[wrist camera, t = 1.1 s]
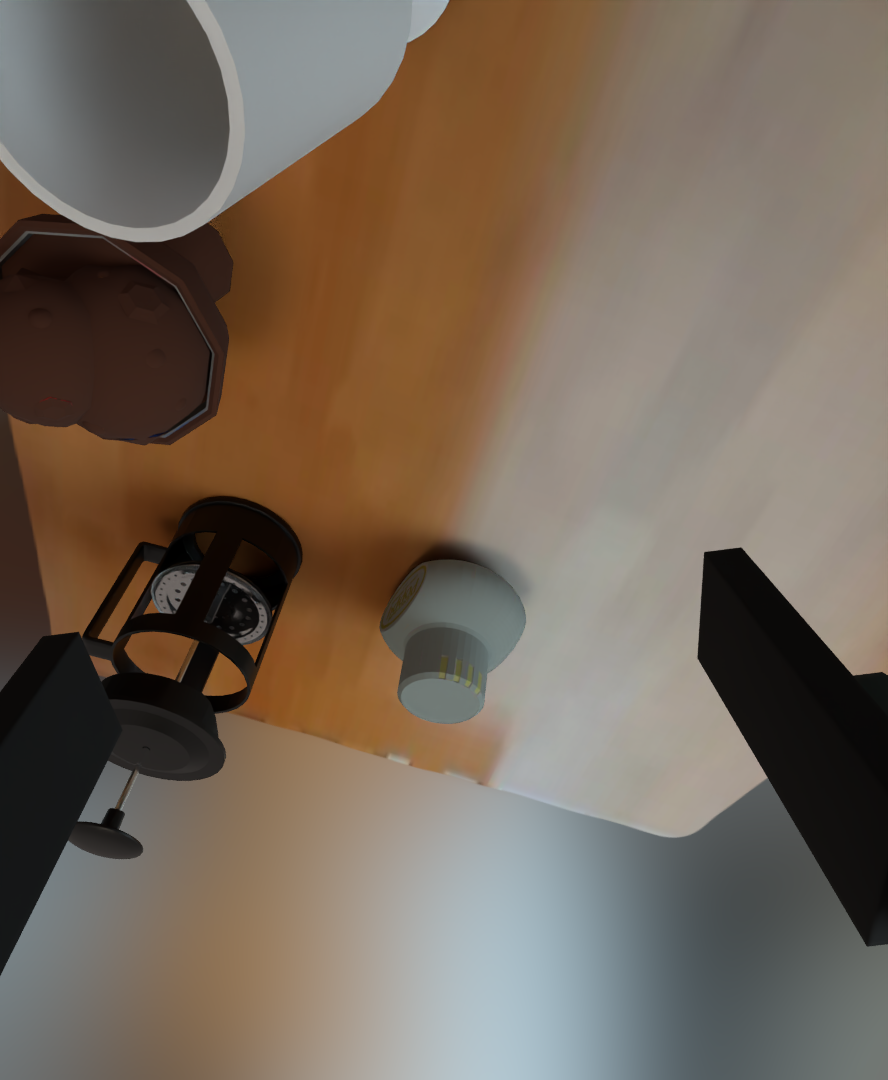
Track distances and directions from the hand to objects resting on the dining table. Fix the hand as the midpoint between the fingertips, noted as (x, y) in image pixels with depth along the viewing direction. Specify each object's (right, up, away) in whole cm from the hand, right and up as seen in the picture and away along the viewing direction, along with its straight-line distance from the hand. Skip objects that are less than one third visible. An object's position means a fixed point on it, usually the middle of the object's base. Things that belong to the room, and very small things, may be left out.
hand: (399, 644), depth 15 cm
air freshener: (+2, -2, +39) cm, 39 cm away
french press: (-15, +2, +38) cm, 41 cm away
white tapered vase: (-2, +26, +13) cm, 29 cm away
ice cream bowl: (-13, +18, +23) cm, 32 cm away
